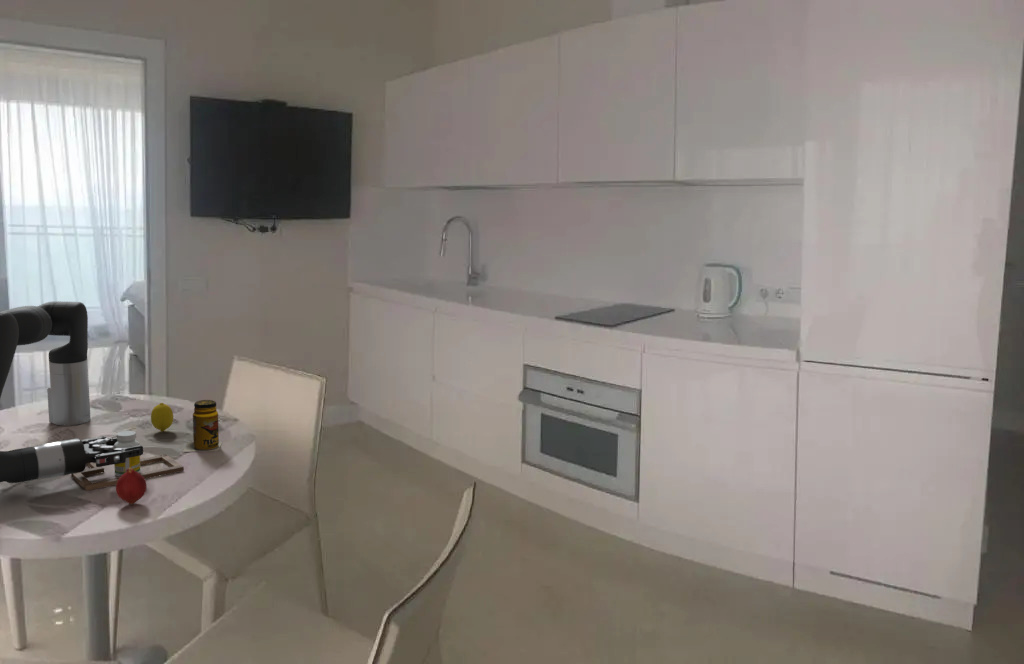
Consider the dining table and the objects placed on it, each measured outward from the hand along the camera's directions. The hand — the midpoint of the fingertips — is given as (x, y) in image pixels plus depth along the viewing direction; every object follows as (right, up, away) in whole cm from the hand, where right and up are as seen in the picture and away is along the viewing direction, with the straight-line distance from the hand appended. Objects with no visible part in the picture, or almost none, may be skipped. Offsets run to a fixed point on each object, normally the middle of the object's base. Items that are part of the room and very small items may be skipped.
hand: (135, 444), depth 187 cm
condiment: (+8, -4, +20) cm, 22 cm away
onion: (+7, -10, -17) cm, 21 cm away
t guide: (-6, -6, +4) cm, 9 cm away
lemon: (-7, -1, +31) cm, 32 cm away
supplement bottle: (-2, -7, 0) cm, 7 cm away
